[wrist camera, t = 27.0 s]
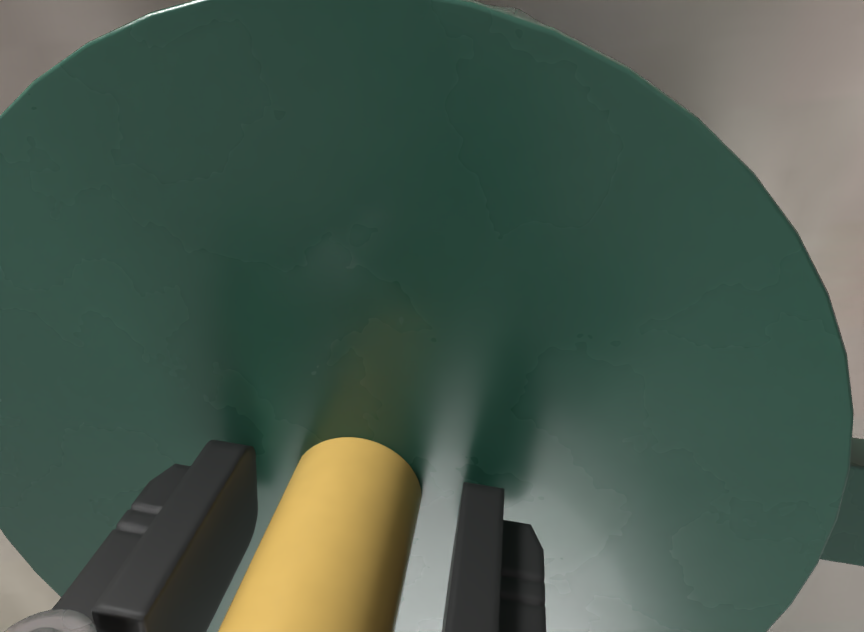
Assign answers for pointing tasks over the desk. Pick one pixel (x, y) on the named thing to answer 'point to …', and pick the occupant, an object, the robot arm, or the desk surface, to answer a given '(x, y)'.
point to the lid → (411, 317)
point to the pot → (860, 508)
